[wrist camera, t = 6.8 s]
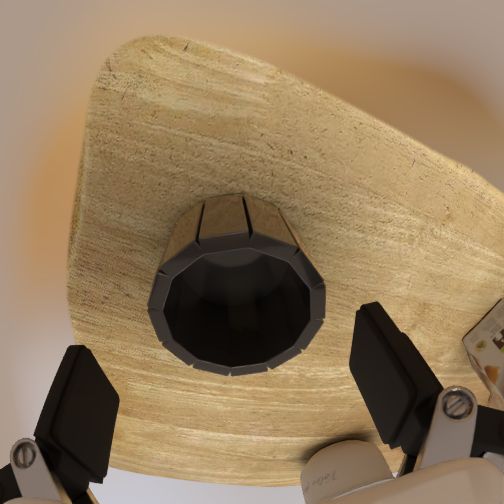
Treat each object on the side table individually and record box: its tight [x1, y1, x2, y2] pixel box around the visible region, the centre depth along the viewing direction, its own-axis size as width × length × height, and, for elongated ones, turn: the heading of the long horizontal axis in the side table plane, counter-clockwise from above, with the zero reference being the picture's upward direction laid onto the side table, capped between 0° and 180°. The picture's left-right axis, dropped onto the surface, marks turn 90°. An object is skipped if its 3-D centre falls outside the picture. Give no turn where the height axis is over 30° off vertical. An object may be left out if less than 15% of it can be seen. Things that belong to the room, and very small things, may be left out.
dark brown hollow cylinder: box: [147, 193, 326, 376], centre depth 15 cm, size 9×7×6 cm
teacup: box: [301, 440, 396, 504], centre depth 27 cm, size 14×11×8 cm
